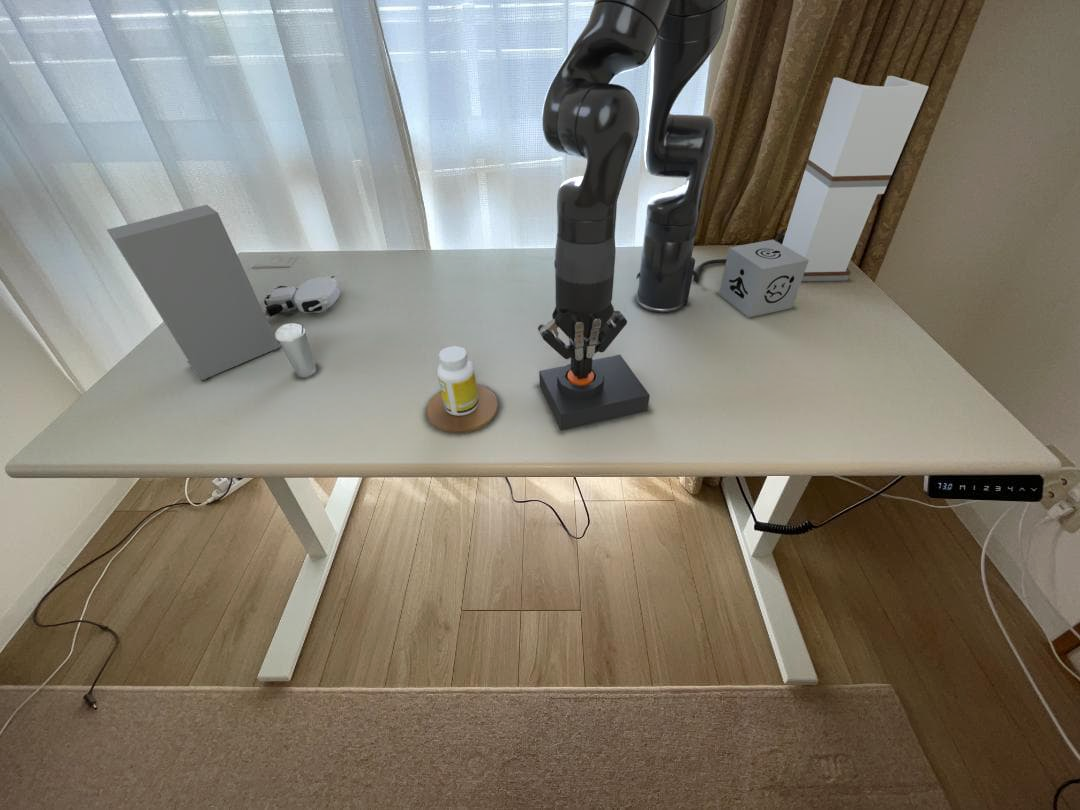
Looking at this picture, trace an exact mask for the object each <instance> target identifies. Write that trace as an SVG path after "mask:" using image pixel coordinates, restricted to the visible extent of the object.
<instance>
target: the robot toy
mask: <svg viewBox="0 0 1080 810" xmlns="http://www.w3.org/2000/svg"><path fill="white" fill-rule="evenodd" d="M339 275H340V273H334V274H333V275H331V276H321V277H315V278H309V279H308V280H306V281H303V283H302V284H301V285H300V286H298V288H297V287H294V286H286V285H278V286H277V287H275V288H273V289H272V290H271V292H269V293H268V294H266V297H265V298H264V300H263V303H264V305H265V309H262V310H263V312H264V314H265V317H267V316H268V315H269V317H270V318H271V317H274V316H276V315H280V313H281V314H285V313H289V311H294V310H298V311H300V313H305V314H310V313H314V314H322V313H324V312H325V311H327V310H328V309H330V308H331V307H333V305H334V304H335V303H336V301H337V300H338V299H339V296H340V293H341V292H340V287H339V285H338V283H337V279H335V278H336V277H338V276H339Z"/></svg>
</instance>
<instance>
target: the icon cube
mask: <svg viewBox="0 0 1080 810" xmlns="http://www.w3.org/2000/svg"><path fill="white" fill-rule="evenodd" d="M726 259H727V260H726V263H725V265H724V269H723V272H722V278H721V282H720V287H719V289H718V295H719V296H720V297H721V298H723V299H724V300H725V301H726V302H728V303H729V304H731V305H732V306H733V307H735V308H736V309H737V310H738V311H739V312H741V313H742V314H743V315H744V316H745V317H747V318H753V317H757V316H762V315H765V314H766V315H767V314H772V313H777V312H779V311H785V310H789V309H793V307H794V303H795V301H796V297H797V295H798V292H799V289H800V286H801V284H802V282H803V281H802V278H803V275H804V272H805V270H806V267H807V264H808V261H809V260H808V259H806V258H805V257H803V256H801V255H799V254H798V253H796V252H794V251H792V250H791V249H789V248H787V247H785V246H784V245H782V243H781V242H779V241H775V239H768V240H763V241H757V242H752V243H746V244H739V245H735V246H730V247H729V248H728V253H727V257H726Z"/></svg>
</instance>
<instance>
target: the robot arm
mask: <svg viewBox="0 0 1080 810" xmlns="http://www.w3.org/2000/svg"><path fill="white" fill-rule="evenodd" d="M728 2H729V0H594V3H593V6H592V9H591V12H590V15H589V19H588V21H587V24H586V25H585V27H584V29H583V30H582V31H581V33H580V34H579V36H578V37H577V38H576V41H575V42H574V43H573V45H572V47H571V49H570V50H569V52H568V54H567V56H566V57H565V59H564V61H563V62H562V63H561V65H560V67H559V69H558V71H557V72H556V74H555V76H554V77H553V80H552V81H551V83H550V85H549V87H548V90H547V91H546V94H545V97H544V102H543V106H542V113H541V127H542V133H543V136H544V139H545V141H546V143H547V144H548V146H549V147H550V148H551V149H552V150H554V151H556V152H558V153H561V154H564V155H568V156H572V157H576V158H580V159H581V158H582V159H585V160H586V165H585V166H586V167H585V171H584V174H583V176H576V177H572V178H569V179H567V180H565V181H564V182H562V183H561V185H560V186H559V188H558V190H557V196H556V240H555V241H556V242H555V249H554V254H555V255H554V262H553V264H554V271H555V272H554V273H555V274H554V275H555V277H554V279H555V307H554V310H553V312H552V314H551V315H552V319H551V320H550V321H548V322H547V323H546V324H543V323H542V324H540V325H538V326H537V331H538V332H539V334H540V336H541V338H542V340H543V341H544V342H545V343H546V344H547V345H549V346H550V347H551V349H553V350H554V351H555V352H557V353H558V354H559V355H560V356H561V357H562V358H563V359H564V360H569V359H570V364H571V370H572V372H573V374H574V376H575V377H576V376H577V378H578V379H583V378H588V374H590V373H591V371H592V360H593V358H594V356H595V354H597V353H598V352H599V353H604V352H606V350H607V349H608V347H610V345H611V344H612V342H614V340H615V339H616V337H618V335H620V333H621V331H622V330H624V328H625V327H626V326H627V324H628V320H627V319H626V316H624V315H623V314H622V313H621V311H620V310H615V307H614V305H613V304H612V301H613V294H614V293H613V292H614V278H615V265H616V226H617V225H616V223H617V209H618V207H617V206H618V201H619V200H618V199H619V196H620V192H621V190H622V186H623V183H624V181H625V177H626V174H627V170H628V167H629V165H630V161H631V158H632V156H633V153H634V150H635V147H636V144H637V141H638V137H639V132H640V122H641V121H640V110H639V107H638V103H637V100H636V98H635V96H634V95H633V93H632V91H630V90H629V89H628V87H625V86H623V85H621V84H615V83H611V82H612V81H613V80H614V79H615V77H617V76H618V75H621V74H622V73H625V72H629V71H633V70H635V69H638V68H641V67H642V66H643V65H644V64H645V63H646V62H647V61H648V59H649V58H650V56H651V59H650V63H651V65H650V70H651V71H650V90H649V91H650V93H649V101H648V102H649V103H648V114H647V121H646V122H647V123H646V133H645V142H644V143H645V144H644V166H645V169H646V170H647V173H648V174H650V175H652V176H655V177H661V178H674V179H676V178H677V179H686V181H685V182H684V183H682V184H681V185H679V186H678V187H675V188H673V189H671V190H667V191H664V192H661V193H658V194H655V195H654V196H652V197H651V198H650V199H649V201H648V203H647V208H646V216H645V224H644V225H645V226H644V234H643V244H642V251H641V259H640V260H641V261H640V268H639V272H638V273H637V274H636V279H638V285H637V291H636V293H637V294H636V298H635V299H636V303H637V304H638V306H640V307H641V308H642V309H645V310H647V311H649V312H654V313H671V312H676V311H677V310H680V309H681V308H682V307H683V306H685V305H688V302H689V296H690V291H691V287H692V286H691V285H692V281H693V282H698V281H699V279H700V275H701V272H702V269H703V268H705V267H707V266H708V265H712V264H722V263H723V264H724V263H725V264H726V260H727V258H718V259H717V258H716V259H711V260H710V259H709V260H707V261H704V262H702V263H701V264H699V266H698V267H697V270H695V265H696V259H695V257H693V252H694V245H695V241H696V236H697V235H696V234H697V231H698V230H697V229H698V224H699V219H700V214H701V213H700V212H701V207H702V200H703V195H704V189H705V184H706V180H707V176H708V172H709V168H710V163H711V159H712V155H713V152H714V147H715V141H716V135H717V134H716V133H717V125H716V121H715V119H714V118H713V117H712V116H711V115H703V114H700V115H699V114H695V115H694V114H678V113H677V114H672V113H670V112H671V111H672V108H673V106H674V104H675V102H676V100H677V99H678V97H679V95H680V94H681V92H682V91H683V89H685V86H686V85H687V84H688V82H689V81H690V80H691V79H692V78H693V77H694V76H695V74H696V73H697V72H698V71H699V70H700V68H701V67H702V66H703V65H704V63H705V62H706V61H707V59H708V58H709V57H710V55H711V54H712V52H713V51H714V50H715V48H716V46H717V45H718V43H719V41H720V39H721V37H722V34H723V30H724V28H725V27H724V26H725V22H726V15H727V9H728V4H729V3H728ZM785 233H786V231H785V230H783V229H781V231H780V232H779V233H778V235H777V236H776V237H775V238H774V240H775V241H777V242H779V240H780V239H781V237H782V236H783V235H785ZM558 329H560V330H561V331H562V332H563V334H564V335H565V336H567V337H568V342H569V343H568V344H569V345H568V344H567V343H565V342H564V341H563V340H562V339H561V338H560V337H559V331H558Z"/></svg>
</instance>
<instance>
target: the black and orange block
mask: <svg viewBox="0 0 1080 810" xmlns="http://www.w3.org/2000/svg"><path fill="white" fill-rule="evenodd" d="M570 370H571V363H568V364H565V365H562V366H561V365H560V366H556V367H551V368H547V369H541V370H539V371H538V373H539V375H538V376H539V388H540V390H541V393H542V394H543V396H544V398H545V401H546V403H547V404H548V408H549V409H550V411H551V413H552V416H553V417H554V420H555V421H556V424H557V425H558V428H559V430H560V431H566V430H570V429H575V428H579V427H583V426H587V425H592V424H596V423H602V422H604V421H605V422H606V421H611V420H613V419H618V418H623V417H627V416H632V415H635V414H639V413H644V412H648V410H649V409H648V408H649V403H650V397H651V396H650V393H649V391H647V389H646V388H645V386H644V384H642V382H641V381H640V380H639V378H638V377H637V375H636V374H635V373H634V372H633V370H632V369H631V367H630V366H629V365H628V363H627V362H626V360H625V359H624V358H623V356H622V355H621V354H616V355H611V356H606V357H600V358H597V359H592V372H593V373H594V381H593V382H592V383H591V384H588V385H584V386H580V385H574V384H572V383H570V382H568V381H567V377H568V372H569V371H570Z"/></svg>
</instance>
